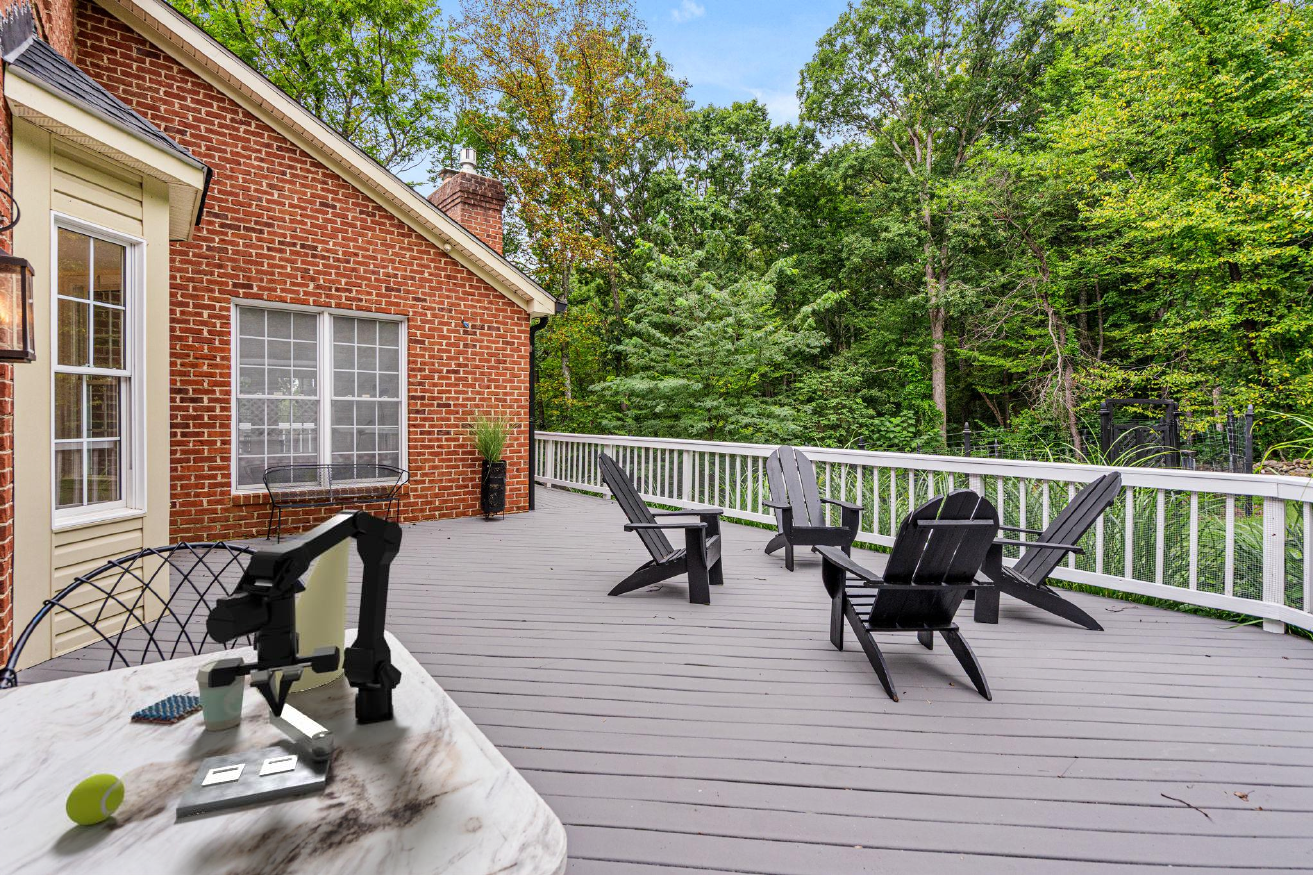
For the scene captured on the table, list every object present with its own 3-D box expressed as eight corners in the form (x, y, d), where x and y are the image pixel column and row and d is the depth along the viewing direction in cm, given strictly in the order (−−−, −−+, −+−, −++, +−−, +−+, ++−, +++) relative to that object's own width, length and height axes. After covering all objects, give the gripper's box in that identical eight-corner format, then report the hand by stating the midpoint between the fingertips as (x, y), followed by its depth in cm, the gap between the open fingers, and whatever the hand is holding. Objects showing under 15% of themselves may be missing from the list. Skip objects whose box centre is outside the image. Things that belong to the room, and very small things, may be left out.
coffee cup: (223, 736, 125) (221, 673, 124) (185, 732, 126) (184, 670, 126) (258, 716, 133) (257, 658, 133) (223, 713, 135) (222, 655, 134)
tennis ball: (94, 807, 101) (93, 764, 101) (136, 808, 101) (135, 765, 101) (53, 834, 95) (52, 788, 95) (98, 835, 95) (97, 789, 94)
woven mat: (216, 704, 140) (216, 694, 140) (173, 727, 130) (173, 717, 130) (173, 701, 142) (173, 692, 142) (127, 724, 131) (127, 714, 131)
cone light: (235, 686, 148) (232, 533, 148) (306, 659, 165) (303, 521, 164) (312, 703, 139) (309, 539, 138) (380, 673, 156) (377, 526, 155)
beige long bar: (336, 750, 113) (335, 734, 113) (316, 757, 111) (316, 741, 111) (287, 717, 126) (286, 702, 126) (268, 723, 124) (268, 708, 124)
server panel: (336, 744, 121) (336, 730, 121) (328, 788, 106) (328, 773, 106) (204, 767, 113) (204, 752, 113) (176, 818, 98) (175, 801, 98)
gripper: (341, 605, 121) (343, 689, 121) (222, 617, 114) (225, 706, 114) (336, 622, 111) (338, 713, 111) (205, 636, 104) (208, 734, 104)
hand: (278, 716), depth 110 cm, fingers closed
